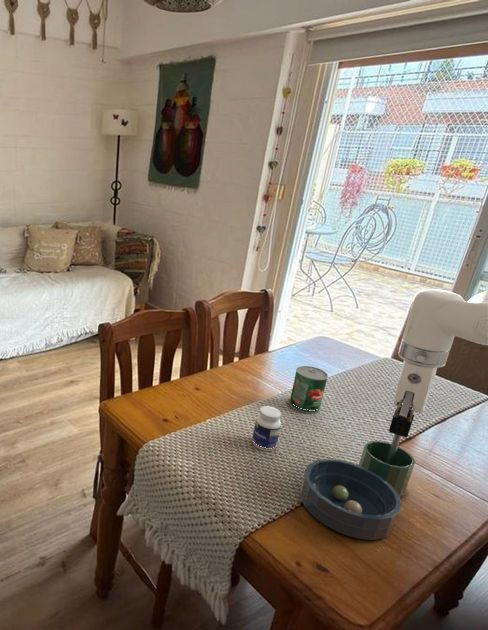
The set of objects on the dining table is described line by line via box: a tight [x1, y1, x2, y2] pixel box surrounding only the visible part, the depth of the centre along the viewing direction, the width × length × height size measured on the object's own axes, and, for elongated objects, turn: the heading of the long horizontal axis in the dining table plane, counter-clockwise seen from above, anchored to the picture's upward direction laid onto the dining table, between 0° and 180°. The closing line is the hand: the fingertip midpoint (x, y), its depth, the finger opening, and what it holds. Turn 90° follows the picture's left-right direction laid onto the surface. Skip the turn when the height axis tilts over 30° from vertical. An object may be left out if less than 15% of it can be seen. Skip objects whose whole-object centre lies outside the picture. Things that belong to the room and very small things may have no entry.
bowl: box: [299, 458, 402, 541], centre depth 90 cm, size 17×17×6 cm
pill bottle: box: [251, 405, 282, 452], centre depth 108 cm, size 6×6×10 cm
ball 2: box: [344, 500, 362, 514], centre depth 88 cm, size 3×3×3 cm
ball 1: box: [332, 485, 349, 501], centre depth 92 cm, size 3×3×3 cm
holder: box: [358, 440, 416, 498], centre depth 96 cm, size 9×9×8 cm
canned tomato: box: [288, 365, 329, 415], centre depth 125 cm, size 8×8×11 cm
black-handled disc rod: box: [386, 408, 410, 465], centre depth 94 cm, size 4×4×18 cm
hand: (399, 430), depth 92 cm, fingers closed on black-handled disc rod, 2 cm apart
